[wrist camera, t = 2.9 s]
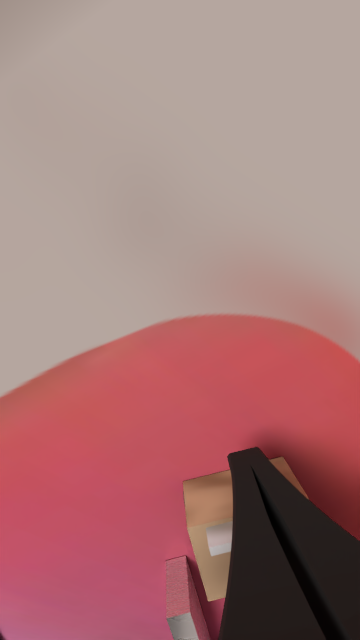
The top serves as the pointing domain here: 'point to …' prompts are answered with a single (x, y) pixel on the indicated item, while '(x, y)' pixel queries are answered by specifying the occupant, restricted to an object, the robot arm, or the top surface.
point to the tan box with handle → (216, 524)
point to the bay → (183, 603)
